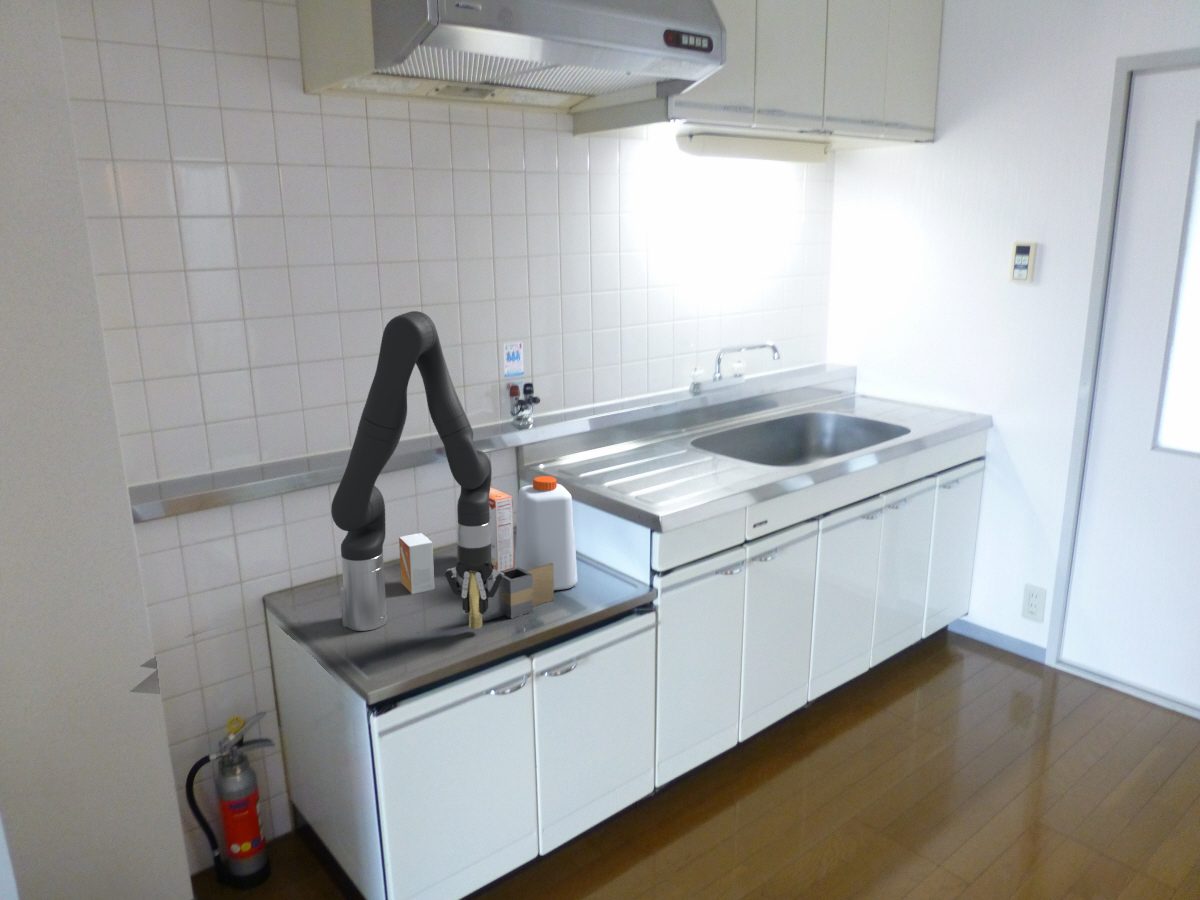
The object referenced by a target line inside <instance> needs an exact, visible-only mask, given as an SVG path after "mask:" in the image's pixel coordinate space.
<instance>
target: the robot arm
mask: <svg viewBox="0 0 1200 900" xmlns="http://www.w3.org/2000/svg"><path fill="white" fill-rule="evenodd" d="M415 365H416V367H417V369H418V371H419V374H420V376H421V378H422V382H423V387H424V390H425V398H426V402H427V403H426V404H427V408H428V411H429V415H430V418H431V421H432V423H433V425H434V427H435V429H436V432H437V434H438V436H439V438H440V440H441V442H442V444H443V446H444V447H443V448H444V452H445V456H446V459H447V462H448V466H449V469H450V472H451V475H452V477H453V478H454V481H456V483H457V484H458V485H459V486H460V494H459V498H458V499H457V509H456V510H457V524H456V525H457V527H456V549H457V550H456V552H457V553H456V554H457V555H456V557H457V560H456V561H457V563H456V565H455V567H448V568H447V569H446V571H445V572H444V577H445V578H446V579H447V582H448V584H449V587H450V588H451V591H452V592H453V594H454V595H455V596H460V597H461V606H462V611H464V613H465V614H469V600H468V587H469V579H470V571H469V570H475V571H477V572H476V574H475V575H476V579H477V583H478V588H479V590H480V594H481V599H480V613H481V614H484V613H485V612H486V611H487V609H488V598H489V597H491V598H492V597H494V595H495V593H496V591H497V589H498V587H499V585H500V583H501V581H502V579H503V576H504V574H505V573H504V571H500V572H499V571H497V570H495V569H494V567H493V565H492V562H491V539H492V537H491V527H490V510H489V493H490V487H491V485H492V484H491V483H492V464H491V463H492V462H491V459H490V457H489V456H488V455H487V454H486V453H485V452H483V451H482V450H478V449H476V447H475V443H474V430H473V428H472V425H471V423H470V421H469V419H468V416H467V414H466V412H465V410H464V408H463V405H462V403H461V400H460V399H459V396H458V394H457V392H456V388H455V387H454V384H453V381H452V378H451V375H450V371H449V369H448V365H447V362H446V359H445V356H444V353H443V349H442V344H441V342H440V338H439V333H438V331H437V328H436V324H435V323H434V321H433V320H432V319H431V317H430V316H429V315H428V314H427V313H424V312H421V311H418V310H417V311H416V310H414V311H413V310H412V311H408V312H405V313H402V314H400V315H397V316H394V317H393V318H391V319H390V320H389V321H388V322H387V324H386V326H385V327H384V330H383V333H382V337H381V343H380V348H379V354H378V359H377V364H376V369H375V373H374V376H373V380H372V382H371V385H370V388H369V391H368V394H367V398H366V401H365V404H364V407H363V410H362V412H361V416H360V420H359V423H358V427H357V430H356V435H355V437H354V441H353V444H352V446H351V451H350V454H349V457H348V461H347V464H346V468H345V470H344V473H343V476H342V478H341V479H340V480H341V481H340V482H339V485H338V486H337V489H336V492H335V493H334V497H333V499H332V503H331V506H330V508H331V509H330V510H331V511H330V512H331V513H330V514H331V517H332V520H333V522H334V524H335V526H337V528H339V529H340V530H341V531H343V532H344V531H345V532H347V533H346V535H345V537H344V538H343V540H342V542H341V544H340V553H341V554H340V556H341V568H342V583H343V585H341V587H340V591H339V593H340V602H341V603H340V604H341V605H340V606H341V619H342V627H344V628H348V629H350V630H353V631H358V632H359V631H360V632H362V631H372V630H377V629H379V628H381V627H383V626H385V624H386V623H387V622H388V617H387V615H388V613H387V601H386V600H387V599H386V583H385V568H384V567H385V564H384V548H383V546H384V542H385V539H386V506H385V505H386V504H385V499H384V496H383V494H382V492H381V491H380V489H379V488H378V486H375V484H376V482H377V479H378V478H379V475H380V474H381V472H382V471H383V469H384V468H385V466H386V465H387V464H388V462H389V460H390V459H391V457H392V456H393V454H394V453H395V451H396V450H397V447H398V445H399V443H400V439H401V437H402V435H403V431H404V428H405V424H406V421H407V416H408V386H409V383H410V382H409V381H410V378H411V375H412V373H413V371H414V368H415ZM458 575H459V576H460V578H461V579H462V580H463V582H462V586H461V583H460V582H459V579H458V577H457V576H458ZM490 576H492V579H493V580H495V582H494V584H493V586H492V588H491V590H488V582H487V581H488V578H489V577H490Z"/></svg>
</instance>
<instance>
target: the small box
mask: <svg viewBox="0 0 1200 900" xmlns="http://www.w3.org/2000/svg"><path fill="white" fill-rule="evenodd" d="M398 544H399V545H398V546H399V548H398V549H399V560H400V561H399V567H400V582H401V583H400V584H401V585H403V586H404V588H406V590H407V591H408V592H409V593H410V594H411V595H415V594H419V593H420V594H421V593H424V592H425V593H426V592H428V591H433V590H435V571H434V570H435V569H434V567H435V566H434V549H433V548H434V547H433V541H432V540H430V539H429V537H427V536H426V535H424V534H423V533H421V532H420V533H413V534H408V535H403V536H399V537H398Z"/></svg>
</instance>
